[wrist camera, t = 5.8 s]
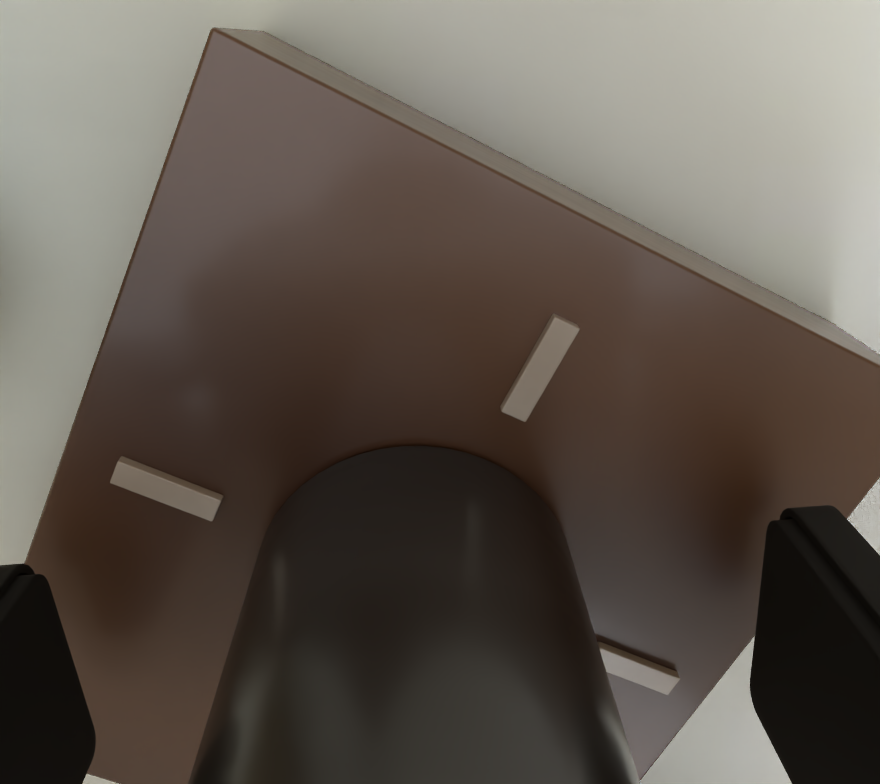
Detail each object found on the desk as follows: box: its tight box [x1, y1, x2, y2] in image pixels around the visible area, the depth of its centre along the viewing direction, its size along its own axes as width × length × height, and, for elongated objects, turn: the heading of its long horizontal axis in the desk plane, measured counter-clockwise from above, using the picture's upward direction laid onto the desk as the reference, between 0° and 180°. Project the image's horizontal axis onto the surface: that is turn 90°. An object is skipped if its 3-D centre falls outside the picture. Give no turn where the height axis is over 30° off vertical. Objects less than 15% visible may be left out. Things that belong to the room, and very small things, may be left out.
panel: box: [24, 28, 880, 784], centre depth 13 cm, size 11×10×3 cm
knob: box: [188, 446, 640, 784], centre depth 9 cm, size 4×4×6 cm
